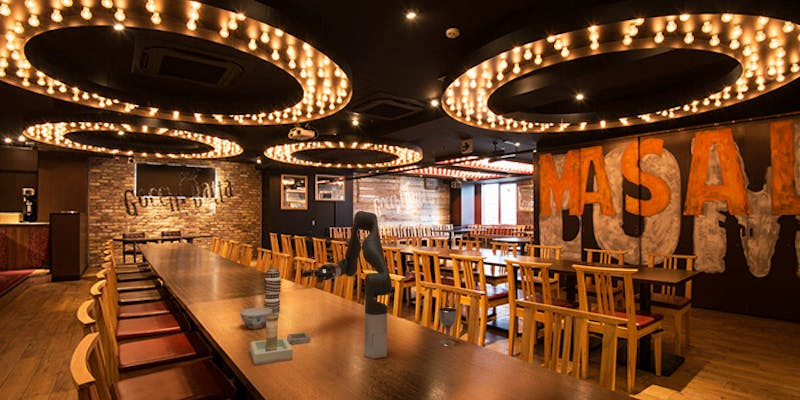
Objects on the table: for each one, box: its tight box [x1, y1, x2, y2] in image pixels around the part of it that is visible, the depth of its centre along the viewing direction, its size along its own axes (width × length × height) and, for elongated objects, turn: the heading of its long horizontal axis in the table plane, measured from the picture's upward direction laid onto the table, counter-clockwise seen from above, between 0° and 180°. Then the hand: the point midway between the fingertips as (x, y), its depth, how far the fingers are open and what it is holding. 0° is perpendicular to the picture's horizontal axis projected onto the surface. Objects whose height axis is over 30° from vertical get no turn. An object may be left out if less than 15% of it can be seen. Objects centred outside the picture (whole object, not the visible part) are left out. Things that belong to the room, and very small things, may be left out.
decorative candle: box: [263, 268, 282, 315], centre depth 225 cm, size 9×9×25 cm
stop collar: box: [286, 331, 311, 346], centre depth 179 cm, size 9×9×2 cm
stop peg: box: [265, 314, 280, 352], centre depth 160 cm, size 5×5×15 cm
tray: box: [250, 337, 294, 366], centre depth 160 cm, size 16×14×4 cm
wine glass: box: [438, 306, 458, 347], centre depth 178 cm, size 8×8×15 cm
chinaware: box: [239, 307, 272, 330], centre depth 199 cm, size 15×15×8 cm
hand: (310, 275), depth 182 cm, fingers open, 8 cm apart
